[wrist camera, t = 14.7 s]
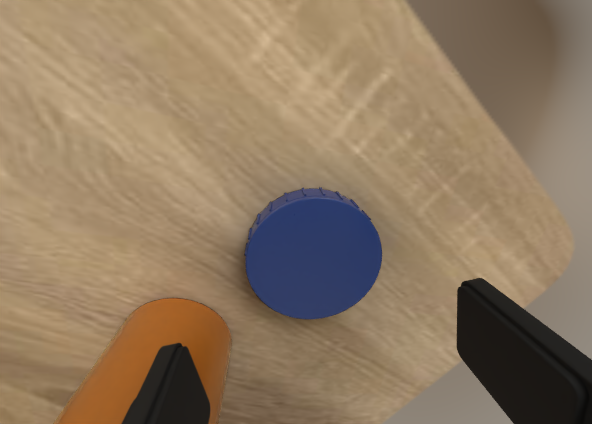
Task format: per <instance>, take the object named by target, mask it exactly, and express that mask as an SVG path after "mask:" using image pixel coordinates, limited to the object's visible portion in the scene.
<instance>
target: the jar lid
mask: <svg viewBox="0 0 592 424" xmlns="http://www.w3.org/2000/svg"><path fill="white" fill-rule="evenodd" d="M284 194H285V195H283V196H281V197H280V198H278V199H276V200H275V201H273V202H269V205H268V206H267V207H266V208H265V209H264V210H263V211H262V212H261V214H258V215H257V219H256V221H255V223H254V225H253V227H252V228H250V231H249V236H248V240H249V241H248V243H247V244H246V249H245V256H246V273H247V277H248V280H249V283H250V285H251V287H252V289H253V290H254V292H255V293H256V295H257V296H258V297H259V298H260V299H261V301H262V302H264V303H265V304H266V305H267V306H268V307H270V308H271V309H273V310H275V311H277V312H279V313H281V314H283V315H286V316H289V317H293V318H299V319H319V318H325V317H329V316H333V315H336V314H338V313H341V312H343V311H345V310H347V309H348V308H350V307H352V306H353V305H355V304H356V303H357V302H358V301H360V300H361V299H362V298H363V297H364V296H365V295H366V294H367V292H368V291H369V290H370V289H371V287H372V286H373V284H374V282H375V280H376V278H377V276H378V273H379V270H380V267H381V261H382V248H381V242H380V238H379V235H378V232H377V231H376V229H375V227H374V226H373V224H372V222H371V221H370V220H371V219H370V218H369V217H368V216H367V214H366V213H365V212H364V211H363V210H362V211H361V210H360V209H359V207H358V206H357V204H356V203H355V202H354V201H353V200H352V199H351V200H349V199H348V198H346V197H344V196H342V195H340V194H339V192H337V191H336V192H332V191H329V190H324V189H322V188H320V187H319V189H304V188H302V190H298V191H294V192H291V193H288V194H287V193H284Z"/></svg>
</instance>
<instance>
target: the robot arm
mask: <svg viewBox="0 0 592 424" xmlns="http://www.w3.org/2000/svg"><path fill="white" fill-rule="evenodd" d="M457 350H458V353H459V355H460V357H461V358H462V360H463V361H464V362H465V363H466V365H467V366H468V367H469V368H470V370H471V371H472V372H473V373H474V375H475V376H476V377H477V378H478V380H479V381H480V382H481V383H482V385H483V386H484V387H485V388H486V390H487V391H488V392H489V393H490V395H492V397H493V398H494V400H495V401H496V402H497V403H498V404H499V406H500V407H501V408H502V409H503V411H504V412H505V413H506V414H507V416H508V417H509V418H510V419H511V421H512V422H513V423H514V424H592V360H591V359H590V358H588V357H587V356H586V355H584V354H583V353H582V352H580V351H579V350H578V349H576V348H575V347H574V346H572V345H571V344H570V343H568V342H567V341H566V340H564V339H563V338H562V337H560V336H559V335H557V334H556V333H555V332H554V331H552V330H551V329H550V328H548V327H547V326H546V325H544V324H543V323H542V322H540V321H539V320H538V319H536V318H535V317H534V316H532V315H531V314H530V313H528V312H527V311H526V310H524V309H523V308H522V307H520V306H519V305H518V304H516V303H515V302H514V301H512V300H511V299H510V298H508V297H507V296H506V295H504V294H503V293H502V292H500V291H499V290H498V289H496V288H495V287H494V286H492V285H491V284H490V283H488V282H487V281H485V280H484V279H482V278H477V279H473V280H468V281H464V282H462V284H461V287H459V288H458V295H457ZM210 411H211V408H210V402H209V399H208V396H207V394H206V391H205V389H204V386H203V384H202V381H201V379H200V377H199V374H198V372H197V369H196V367H195V364H194V362H193V359H192V357H191V354H190V352H189V349H188V347H187V346H182V344H181V343H175V344H170V345H166V346H162V347H161V348H160V349H159V351H158V353H157V355H156V357H155V359H154V361H153V363H152V365H151V368H150V370H149V372H148V374H147V376H146V378H145V380H144V382H143V384H142V387H141V389H140V391H139V393H138V395H137V397H136V399H134V400H133V402H132V404H131V405H130V407H129V409H128V411H127V413H126V416H125V418H124V420H123V422H122V424H208V423H209V418H210Z"/></svg>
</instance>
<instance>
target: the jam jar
mask: <svg viewBox="0 0 592 424" xmlns="http://www.w3.org/2000/svg"><path fill="white" fill-rule="evenodd" d="M175 343H181V344H182V346H187V347H188V349H189V352H190V354H191V357H192V359H193V362H194V364H195V367H196V369H197V372H198V374H199V377H200V379H201V381H202V384H203V386H204V389H205V391H206V394H207V396H208V399H209V402H210V408H211V411H210V418H209V423H208V424H218V423H219V418H220V412H221V406H222V400H223V394H224V388H225V382H226V376H227V371H228V365H229V359H230V353H231V347H232V339H231V334H230V331H229V329H228V327H227V325H226V323H225V322H224V320H223V319H222V318H221V317H220V316H219V315H218V314H217V313H216V312H214V311H213V310H212V309H210V308H208V307H207V306H205V305H203V304H200V303H198V302H195V301H192V300H187V299H180V298H167V299H160V300H155V301H152V302H149V303H147V304H145V305H143V306H141V307H139V308H138V309H136V310H135V311H134V312H132V313H131V314H130V315H129V317H128V318H127V319H126V320H125V322H124V323H123V325H122V326H121V328H120V329H119V330H118V332H117V333H116V335H115V336H114V337H113V339H112V340H111V342H110V343H109V345H108V346H107V347H106V349H105V350H104V352H103V353H102V355H101V356H100V357H99V359H98V360H97V362H96V363H95V365H94V366H93V367H92V369H91V370H90V372H89V373H88V375H87V376H86V377H85V379H84V380H83V382H82V383H81V385H80V386H79V387H78V389H77V390H76V392H75V393H74V395H73V396H72V397H71V399H70V400H69V402H68V403H67V404H66V406H65V407H64V409H63V410H62V412H61V413H60V414H59V416H58V417H57V419H56V420H55V422H54V423H53V424H122V422H123V420H124V418H125V416H126V413H127V411H128V409H129V407H130V405H131V404H132V402H133V400H134V399H136V397H137V395H138V393H139V391H140V389H141V387H142V384H143V382H144V380H145V378H146V376H147V374H148V372H149V370H150V368H151V365H152V363H153V361H154V359H155V357H156V355H157V353H158V351H159V349H160V348H161V347H162V346H166V345H170V344H175Z"/></svg>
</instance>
